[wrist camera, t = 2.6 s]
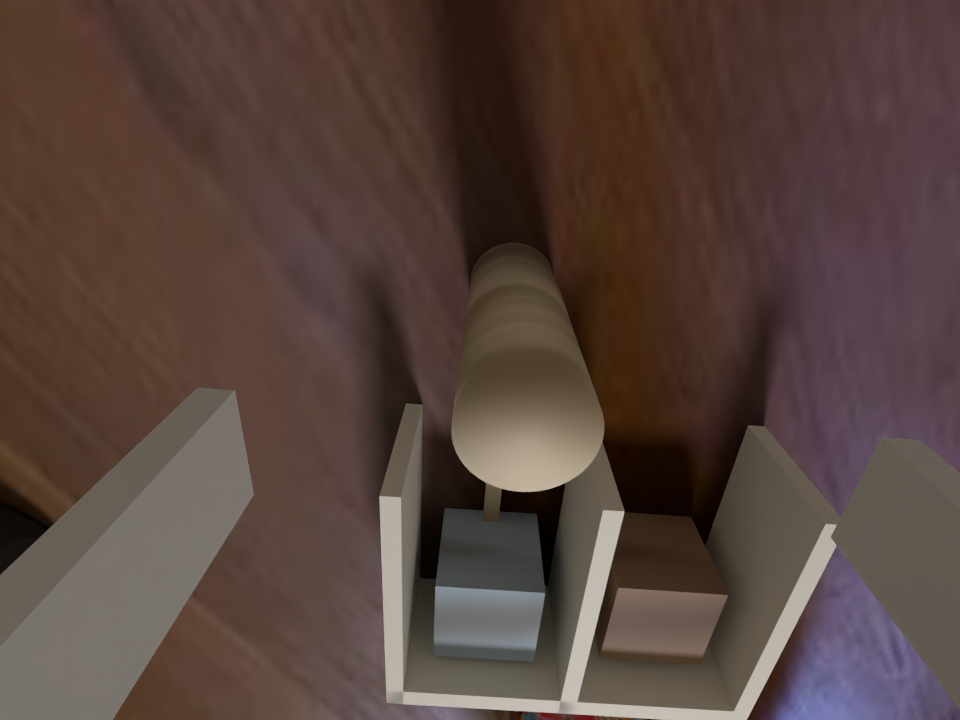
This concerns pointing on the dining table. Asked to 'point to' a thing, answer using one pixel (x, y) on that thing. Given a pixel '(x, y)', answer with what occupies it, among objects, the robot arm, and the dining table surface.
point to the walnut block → (659, 592)
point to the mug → (568, 716)
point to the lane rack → (581, 586)
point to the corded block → (510, 452)
